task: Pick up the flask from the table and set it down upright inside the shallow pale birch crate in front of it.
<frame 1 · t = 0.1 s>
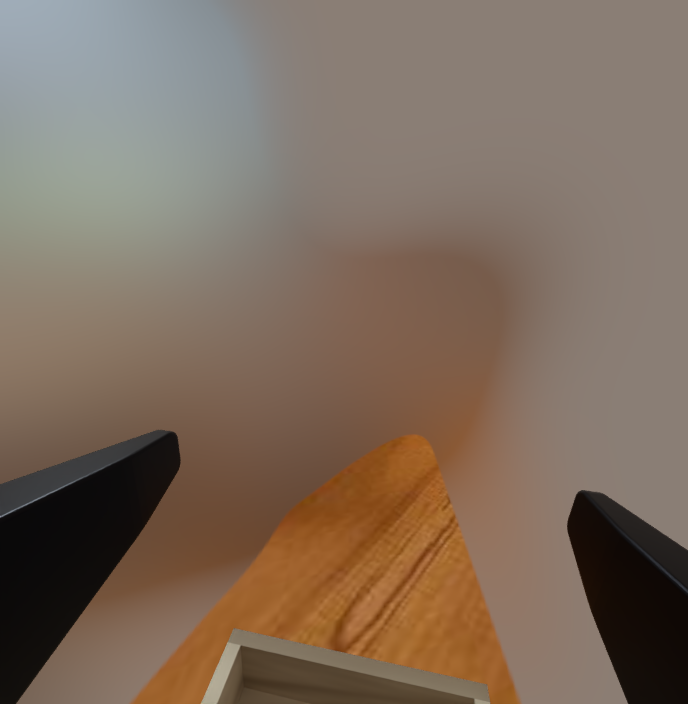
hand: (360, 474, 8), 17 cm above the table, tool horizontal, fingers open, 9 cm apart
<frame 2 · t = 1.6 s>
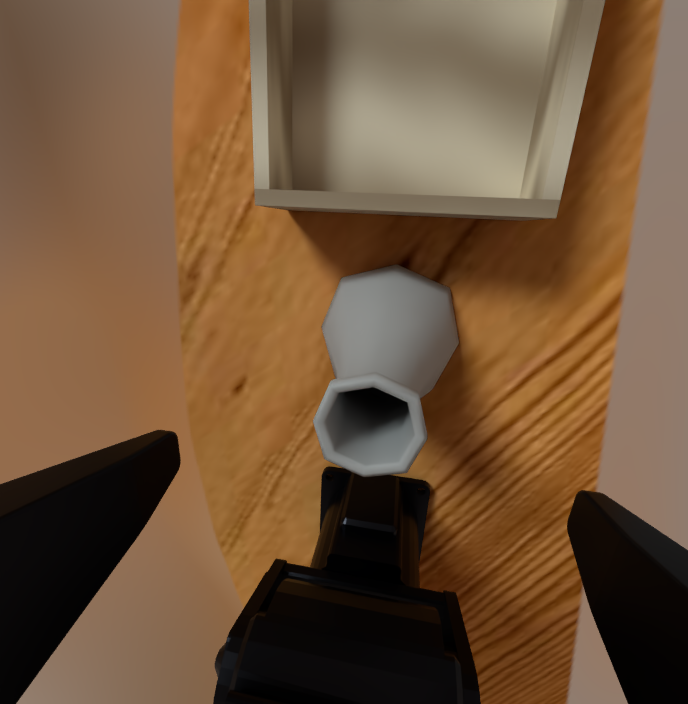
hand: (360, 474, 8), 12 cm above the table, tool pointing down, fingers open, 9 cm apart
flask: (389, 332, 20), on the table
crate: (412, 75, 16), on the table
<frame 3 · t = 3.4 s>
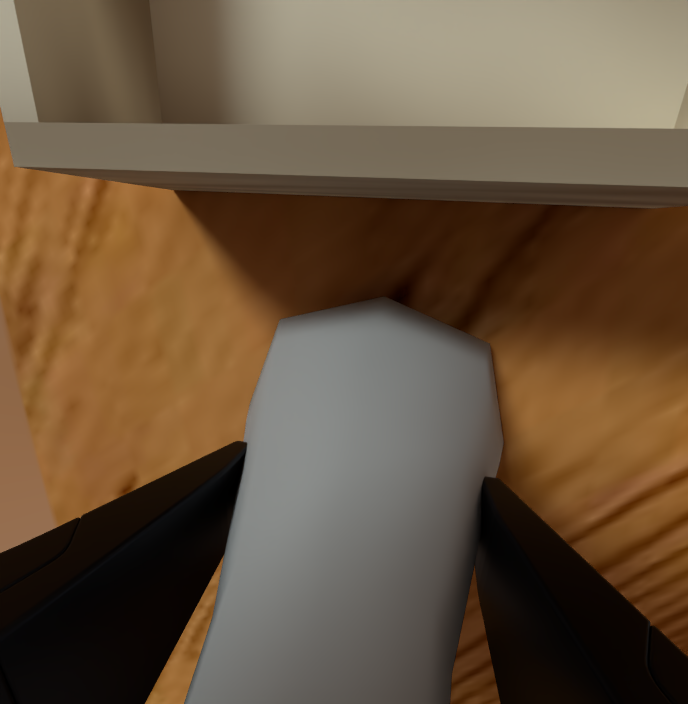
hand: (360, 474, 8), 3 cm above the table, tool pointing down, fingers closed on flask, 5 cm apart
flask: (372, 414, 11), on the table, touching gripper
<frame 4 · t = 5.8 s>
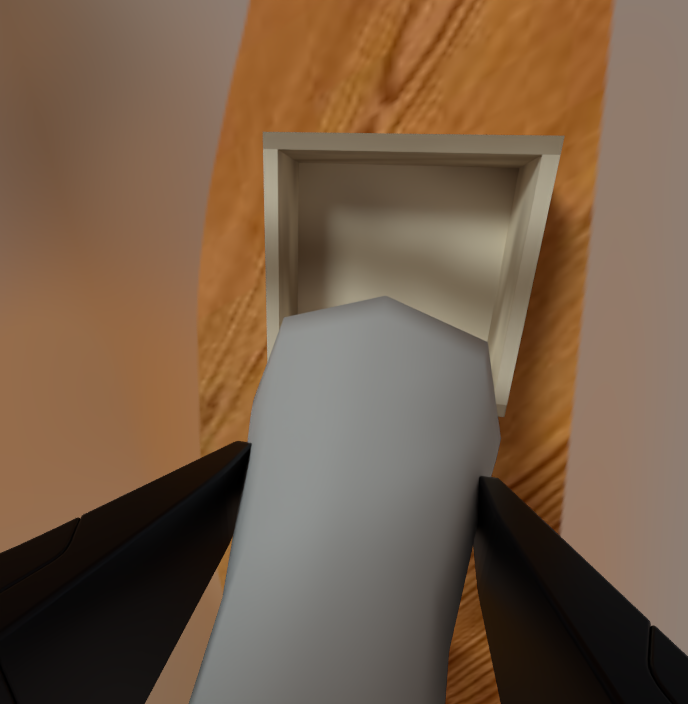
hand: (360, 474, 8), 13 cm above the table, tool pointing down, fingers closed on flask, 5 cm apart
flask: (373, 410, 11), point 10 cm above the table, touching gripper
crate: (394, 273, 19), on the table
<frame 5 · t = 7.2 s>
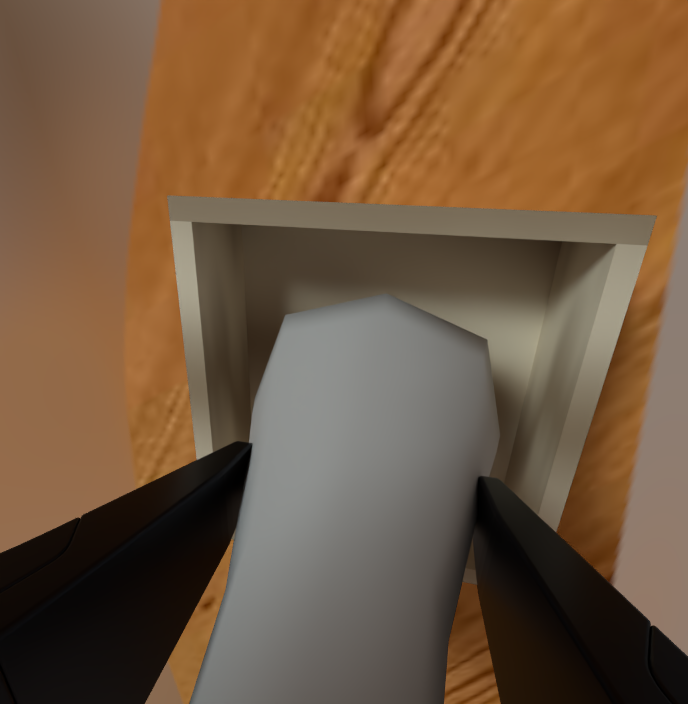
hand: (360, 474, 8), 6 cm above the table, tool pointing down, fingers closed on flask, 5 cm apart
flask: (373, 407, 11), point 3 cm above the table, touching gripper
crate: (381, 365, 14), on the table
when the fingers open (5 cm above the table, at t = 8.3 s): flask stays where it is, resting on crate.
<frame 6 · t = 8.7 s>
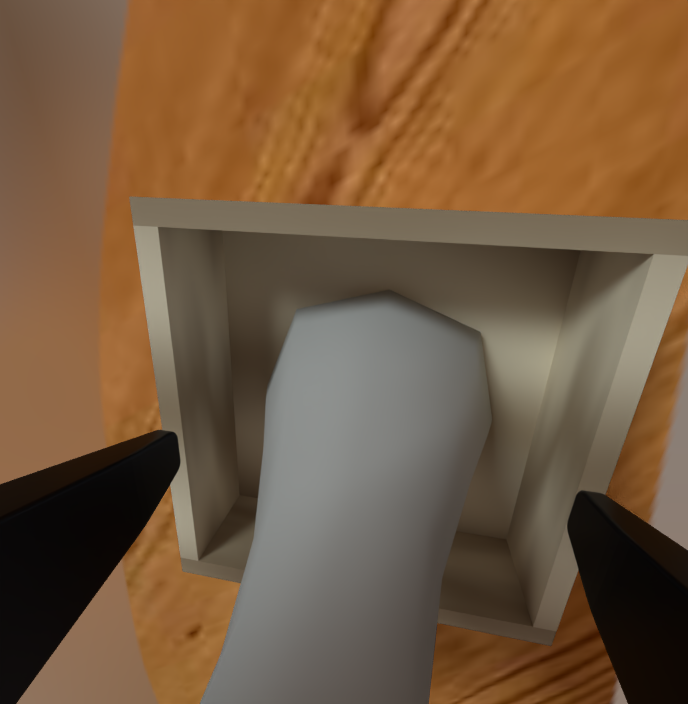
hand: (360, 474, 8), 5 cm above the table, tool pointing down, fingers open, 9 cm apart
flask: (376, 395, 12), point 1 cm above the table, touching crate
crate: (378, 383, 13), on the table
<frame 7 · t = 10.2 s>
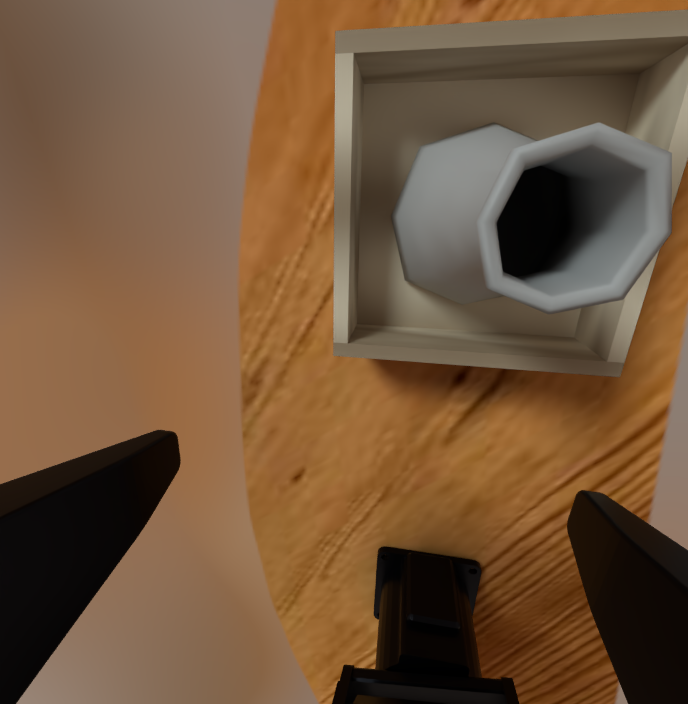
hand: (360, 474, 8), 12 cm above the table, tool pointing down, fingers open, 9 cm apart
flask: (474, 221, 16), point 1 cm above the table, touching crate
crate: (471, 218, 17), on the table
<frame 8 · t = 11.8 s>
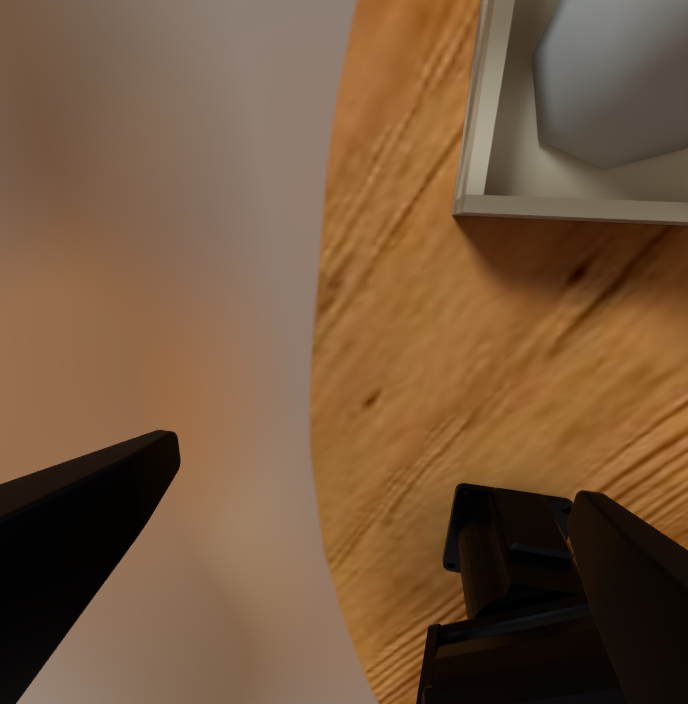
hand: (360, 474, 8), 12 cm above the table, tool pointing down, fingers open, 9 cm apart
flask: (629, 64, 14), point 1 cm above the table, touching crate
crate: (618, 70, 14), on the table
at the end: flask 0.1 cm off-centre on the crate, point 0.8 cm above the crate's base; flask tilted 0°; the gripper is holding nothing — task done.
